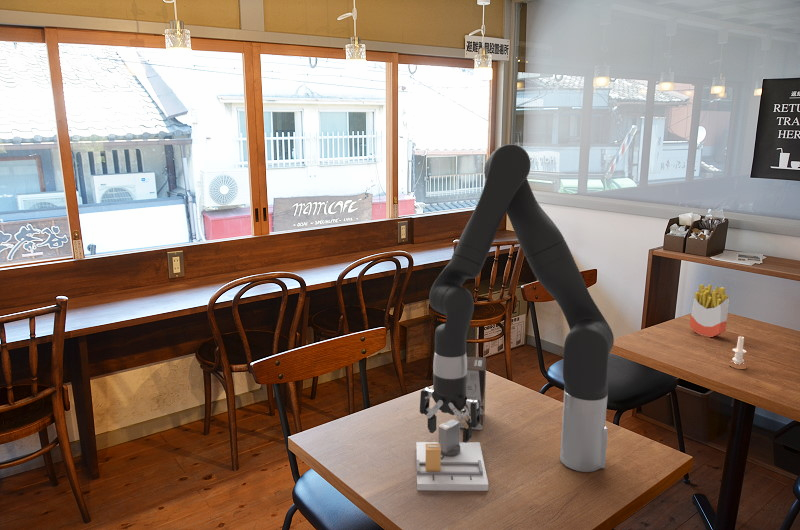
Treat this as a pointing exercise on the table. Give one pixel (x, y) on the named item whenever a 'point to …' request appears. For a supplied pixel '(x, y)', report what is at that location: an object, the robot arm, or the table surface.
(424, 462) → the board
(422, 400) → the robot arm
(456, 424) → the selector knob
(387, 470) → the table surface
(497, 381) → the table surface
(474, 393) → the coffee box
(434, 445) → the fader
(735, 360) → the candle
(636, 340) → the table surface
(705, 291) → the french fries container
